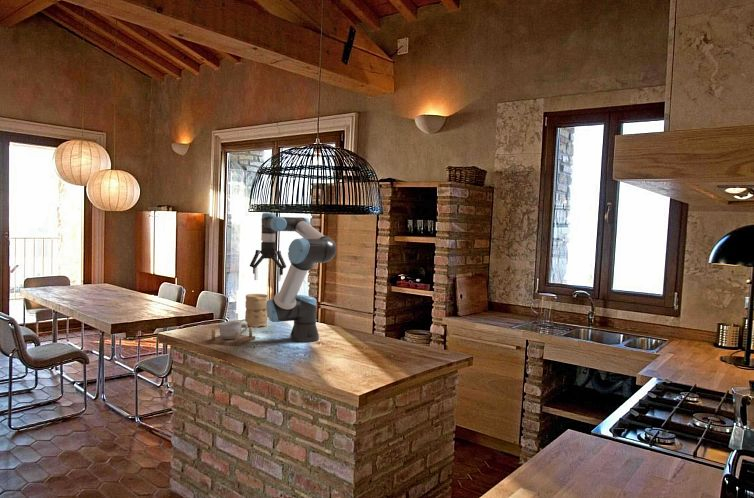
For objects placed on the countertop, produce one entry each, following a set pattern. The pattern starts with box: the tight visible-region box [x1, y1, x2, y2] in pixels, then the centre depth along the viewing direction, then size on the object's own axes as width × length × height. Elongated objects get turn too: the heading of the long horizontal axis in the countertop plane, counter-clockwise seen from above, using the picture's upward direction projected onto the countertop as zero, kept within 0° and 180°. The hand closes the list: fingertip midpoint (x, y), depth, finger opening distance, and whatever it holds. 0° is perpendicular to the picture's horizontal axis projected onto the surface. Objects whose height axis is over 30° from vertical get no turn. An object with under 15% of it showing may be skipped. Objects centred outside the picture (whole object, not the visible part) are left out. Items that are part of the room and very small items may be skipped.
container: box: [244, 293, 269, 329], centre depth 324 cm, size 13×13×18 cm
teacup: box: [218, 321, 249, 339], centre depth 283 cm, size 14×11×8 cm
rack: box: [207, 326, 256, 347], centre depth 283 cm, size 17×17×6 cm
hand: (267, 280), depth 300 cm, fingers open, 13 cm apart
